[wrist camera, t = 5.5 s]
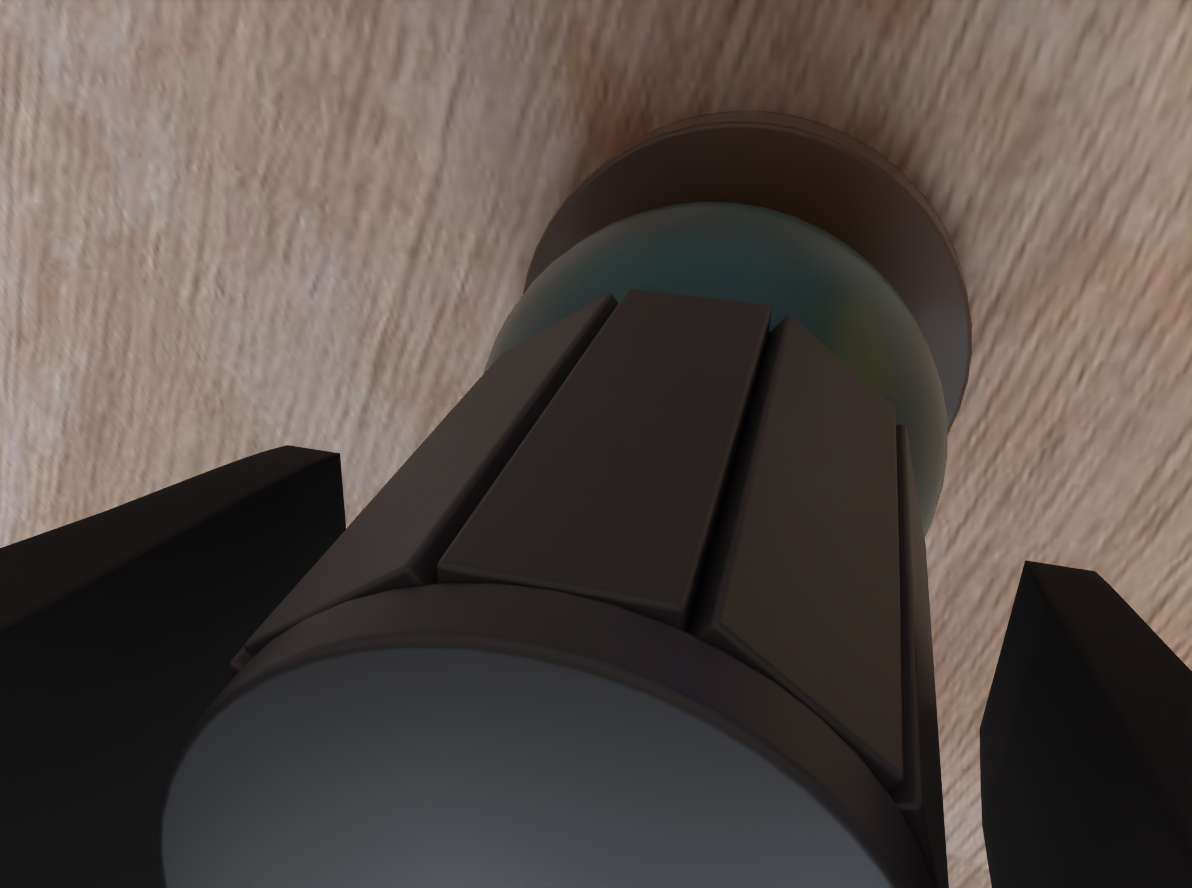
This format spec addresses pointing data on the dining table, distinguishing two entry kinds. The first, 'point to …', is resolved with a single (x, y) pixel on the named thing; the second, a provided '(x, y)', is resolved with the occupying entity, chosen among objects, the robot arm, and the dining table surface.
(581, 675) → the black cap
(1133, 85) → the dining table surface
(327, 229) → the dining table surface
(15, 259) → the dining table surface
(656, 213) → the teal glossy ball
